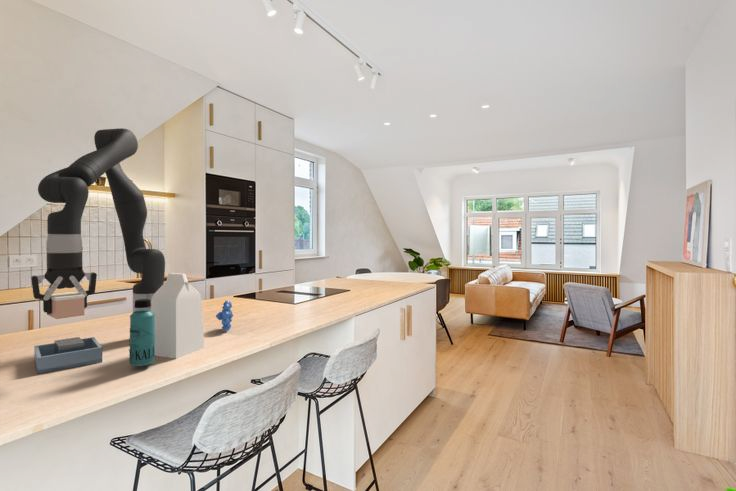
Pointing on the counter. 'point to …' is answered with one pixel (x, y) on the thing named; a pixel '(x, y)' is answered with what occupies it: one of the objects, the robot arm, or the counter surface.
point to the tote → (66, 356)
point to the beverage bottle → (142, 334)
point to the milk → (177, 318)
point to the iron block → (68, 345)
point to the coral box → (67, 305)
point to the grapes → (225, 315)
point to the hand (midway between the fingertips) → (65, 311)
